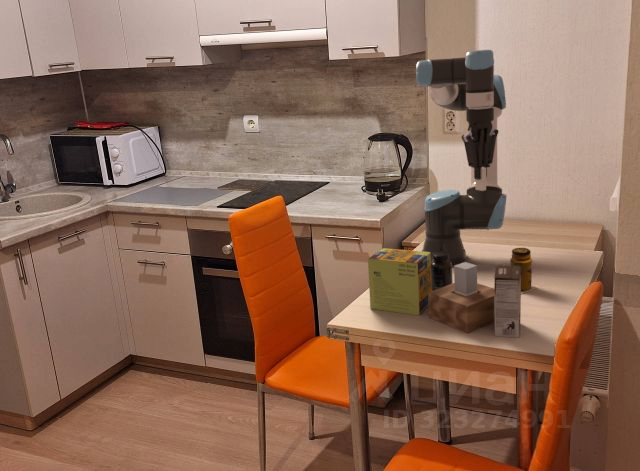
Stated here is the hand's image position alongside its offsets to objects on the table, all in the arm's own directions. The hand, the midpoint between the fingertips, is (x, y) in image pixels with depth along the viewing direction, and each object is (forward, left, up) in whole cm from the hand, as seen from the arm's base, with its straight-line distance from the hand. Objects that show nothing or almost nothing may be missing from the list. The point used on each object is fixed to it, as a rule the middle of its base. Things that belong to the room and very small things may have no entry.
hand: (480, 189), depth 193 cm
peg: (+12, -20, -29) cm, 37 cm away
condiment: (+8, +7, -31) cm, 32 cm away
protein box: (-7, -26, -31) cm, 41 cm away
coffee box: (+25, -18, -31) cm, 43 cm away
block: (+12, -20, -30) cm, 38 cm away
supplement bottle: (-7, -10, -31) cm, 33 cm away
